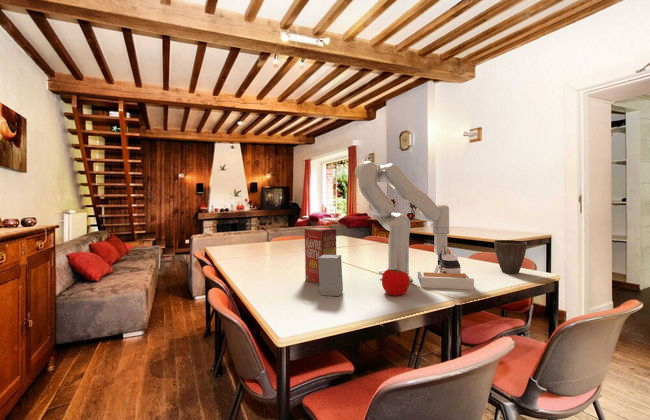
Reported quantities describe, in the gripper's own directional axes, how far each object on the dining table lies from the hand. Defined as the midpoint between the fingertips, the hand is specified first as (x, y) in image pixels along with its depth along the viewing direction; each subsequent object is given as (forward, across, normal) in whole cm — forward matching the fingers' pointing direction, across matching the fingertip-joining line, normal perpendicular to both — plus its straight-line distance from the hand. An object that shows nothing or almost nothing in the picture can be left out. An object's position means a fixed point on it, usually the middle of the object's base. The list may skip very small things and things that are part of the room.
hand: (441, 268), depth 157 cm
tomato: (+4, +30, -23) cm, 38 cm away
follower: (+4, +12, -1) cm, 13 cm away
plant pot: (+6, -16, +36) cm, 40 cm away
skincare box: (+4, +35, -49) cm, 60 cm away
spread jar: (+4, +6, +1) cm, 7 cm away
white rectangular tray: (+5, +11, -1) cm, 12 cm away
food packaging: (+4, +16, -57) cm, 59 cm away
